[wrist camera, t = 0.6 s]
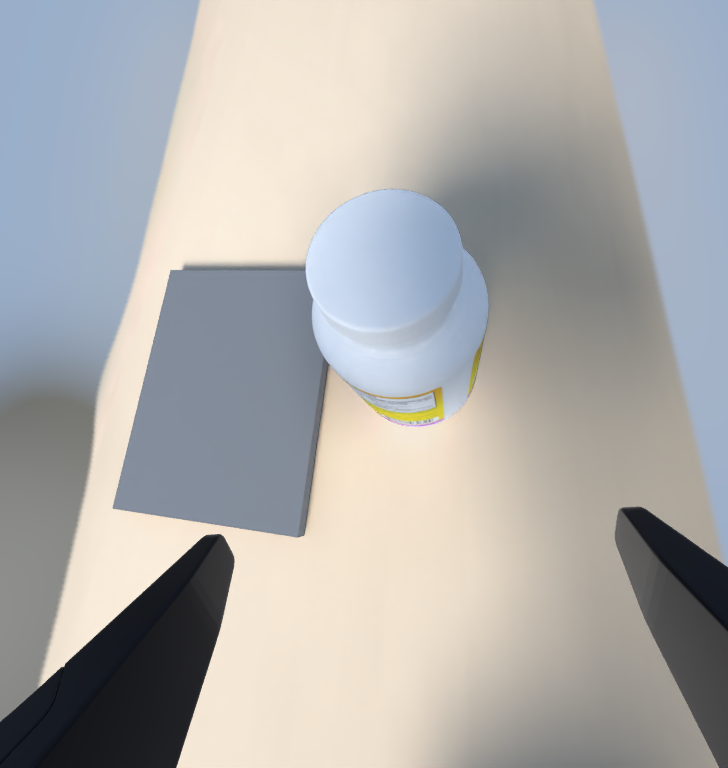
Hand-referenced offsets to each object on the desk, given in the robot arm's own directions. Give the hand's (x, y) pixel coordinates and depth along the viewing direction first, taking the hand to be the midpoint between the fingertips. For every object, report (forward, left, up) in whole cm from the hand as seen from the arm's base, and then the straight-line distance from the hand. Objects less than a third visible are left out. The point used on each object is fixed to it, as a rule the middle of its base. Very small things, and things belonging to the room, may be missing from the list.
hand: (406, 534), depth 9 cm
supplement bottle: (+7, -4, -14) cm, 16 cm away
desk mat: (+13, +6, -13) cm, 19 cm away
